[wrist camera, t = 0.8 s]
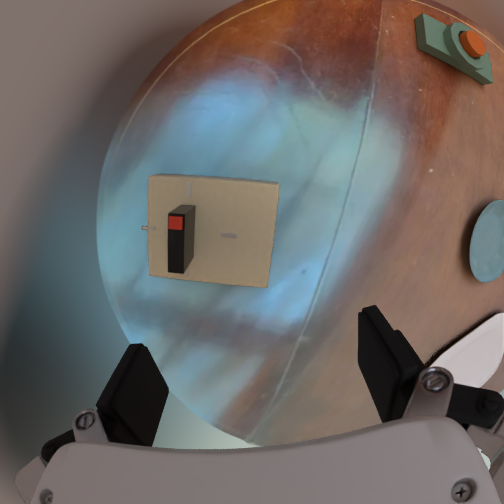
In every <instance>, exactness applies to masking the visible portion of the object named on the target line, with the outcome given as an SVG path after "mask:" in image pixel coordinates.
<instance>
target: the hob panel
mask: <svg viewBox="0 0 504 504" xmlns="http://www.w3.org/2000/svg"><path fill="white" fill-rule="evenodd" d="M279 191H280V185H279V184H278V183H277V182H271V181H261V180H251V179H240V178H228V177H215V176H199V175H180V174H156V175H151V176H149V187H148V226H142V230H148V255H149V275H150V276H158V277H166V278H174V279H183V280H191V281H200V282H210V283H219V284H229V285H239V286H250V287H261V288H267V287H268V279H269V272H270V264H271V256H272V248H273V241H274V233H275V224H276V216H277V208H278V199H279ZM181 204H182V205H195V206H196V209H195V231H194V257H193V259H192V261H191V263H190V264H189V266H188V268H187V269H186V271H185V273H184V274H178V273H169V272H168V213H169V212H170V211H172V210H174V209H175V208H177V207H178V206H180V205H181Z"/></svg>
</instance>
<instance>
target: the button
mask: <svg viewBox="0 0 504 504" xmlns="http://www.w3.org/2000/svg"><path fill="white" fill-rule="evenodd" d="M459 42H460V43H461V45H462V47H463V49H464V50H465V52H466V53H467V54H468V55H469V56H470V57H473V58H476V57H480V56H483V55H485V53H486V49H485V45H484V43H483V41H482V39H481V38H480V37H479V36H478V35H477V34H476V33H475V32H474V31H471V30H468V31H466V32H463V33H461V34H460V35H459Z"/></svg>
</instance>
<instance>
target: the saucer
mask: <svg viewBox="0 0 504 504" xmlns="http://www.w3.org/2000/svg"><path fill="white" fill-rule="evenodd" d="M469 255H470V266H471V270H472V273H473V275H474V276H475V278H476V279H477V280H479V281H480V282H491V281H493V280H495V279H496V278H497V277H499V276H500V275H501V274H502V272H503V271H504V200H495V201H493V202H491V203H490V204H489V205H488V206H487V207H486V208H485V209H484V210H483V211H482V213H481V214H480V216H479V217H478V219H477V221H476V223H475V226H474V229H473V232H472V236H471V241H470V253H469Z"/></svg>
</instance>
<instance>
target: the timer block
mask: <svg viewBox="0 0 504 504" xmlns="http://www.w3.org/2000/svg"><path fill="white" fill-rule="evenodd" d="M415 26H416V36H417V48H418V49H419V50H421V51H424V52H426V53H428V54H430V55H432V56H434V57H436V58H438V59H440V60H442V61H444V62H446V63H448V64H450V65H451V66H453V67H455V68H457V69H458V70H460V71H462V72H464V73H465V74H467V75H469V76H470V77H472V78H473V79H475V80H477V81H478V82H480V83H481V84H483V85H485V84H491V83H493V78H492V70H491V62H490V56H489V53H488V52H487V51H486V53H485V55H483V56H480V57H476V58H473V57H470V56H469V55H468V54H467V53H466V52H465V50H464V49H463V47H462V45H461V43H460V42H459V35H460V34H461V33H463V32H466V31H468V30H471V29H470V28H469V27H467V26H466V25H464V24H463V23H452V24H450V25H449V26H446V25H445V24H443V23H441V22H439V21H437V20H435V19H433V18H432V17H430V16H428V15H426V14H424V13H422V14H421V15H419V16H418V17H417V18H415ZM471 31H472V30H471Z"/></svg>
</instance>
